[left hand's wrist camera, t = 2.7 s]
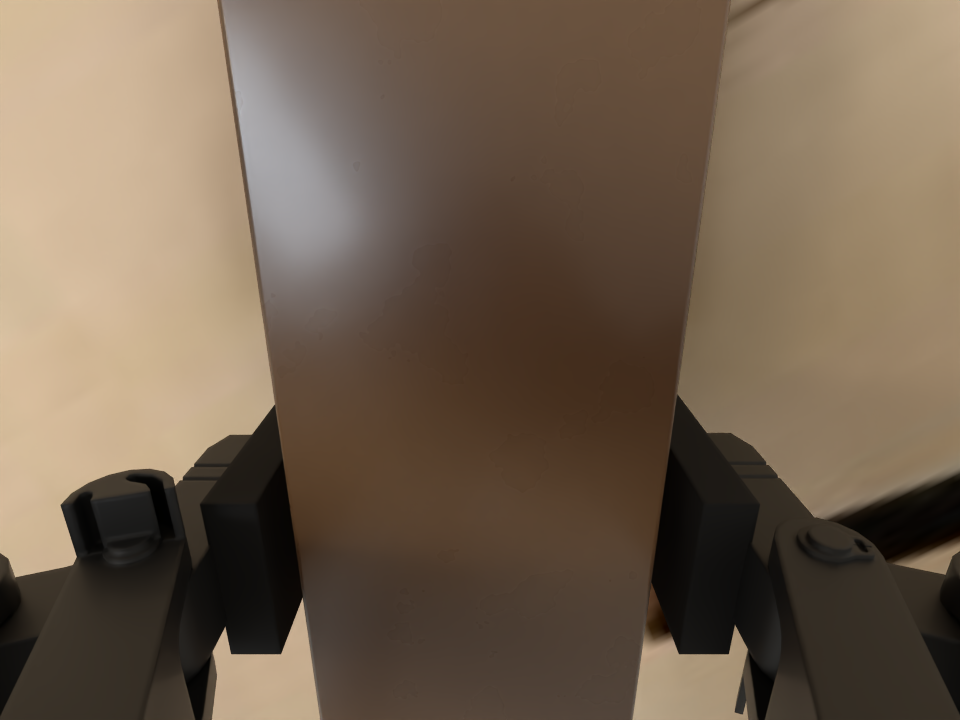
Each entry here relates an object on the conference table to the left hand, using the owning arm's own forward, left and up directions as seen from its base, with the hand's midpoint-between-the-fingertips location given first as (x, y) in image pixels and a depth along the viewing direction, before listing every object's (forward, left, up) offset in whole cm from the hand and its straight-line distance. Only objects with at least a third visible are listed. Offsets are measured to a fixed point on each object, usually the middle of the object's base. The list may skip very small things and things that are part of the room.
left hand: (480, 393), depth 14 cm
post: (+24, +5, -1) cm, 25 cm away
